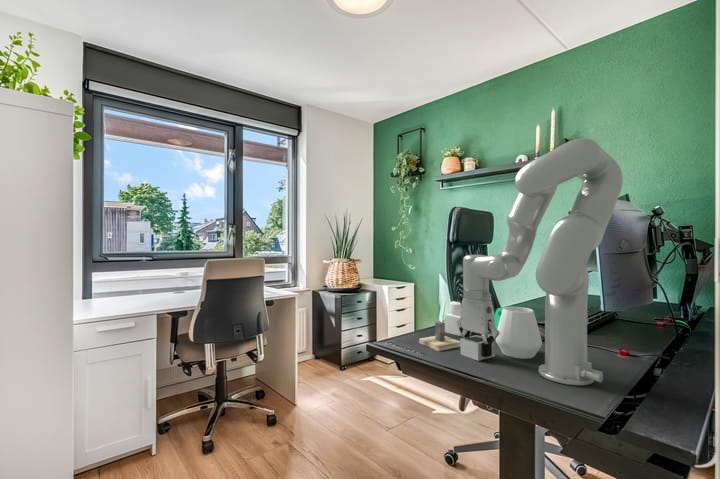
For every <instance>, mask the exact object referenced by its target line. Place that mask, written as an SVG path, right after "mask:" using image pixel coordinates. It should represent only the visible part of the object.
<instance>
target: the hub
mask: <svg viewBox="0 0 720 479" xmlns="http://www.w3.org/2000/svg"><path fill="white" fill-rule="evenodd" d="M459 341H460V347H459V348H460V355H462V356H464V357H466V358H469V359H472V360H474V361H477V362H478V361H479V362H480V361H483V360H487V359H491V358H494V357H495V356H496V355H495V341H494V342H493V343H492V355H491V356H489V357H483V343H484V341H483V338H482V336H481V335H478V334H476V335H470V336H469V337H464V338H463V337H460V340H459Z"/></svg>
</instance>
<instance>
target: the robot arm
mask: <svg viewBox="0 0 720 479" xmlns="http://www.w3.org/2000/svg"><path fill="white" fill-rule="evenodd" d="M576 177H577V178H578V179H579V180H580V181H581V187H580V190H579V191H578V193H577V195H576V197H575V200H574V202H573V205H572V208H571V210H570V212H569V214H568V215H565V216H564V217H561V218H560V219H559V220H558V221H557V222H556V223H555V224H554V226H553V227H552V229H551V230H550V233H549V235H548V238H547V240H546V243H545V245H544V248H543V249H542V253H541V254H540V258H539V260H538V263H537V267H536V270H535V280H536V283H537V285H538V286H539V288H540V290H542V291H543V292H544V293H545V302H544V303H545V304H544V364H541V365H539V366H538V373H539V375H540V376H541V377H543V378H545V379H547V380H550V381H552V382H556V383H560V384H564V385H569V386H589V385H592V384H593V383H595V382H596V383H597V382H598V383H602V382H603V380H604V375H603V374H604V373H603V371H601V370H596V369H593V368H592V366H593V365H592V362H590V361H588V299H589V298H588V297H589V288H590V286H589V284H590V275H589V270H588V267H587V263H588V262H589V260H590V257H591V254H592V253H593V251H594V250H596V249H597V248H599V246H600V244H601V243H602V241H603V238H604V236H605V232H606V230H607V226H608V225H609V222H610V219H611V217H612V215H613V212H614V209H615V206H616V204H617V202H618V199H619V196H620V195H621V192H622V188H623V180H624V179H623V171H622V169H621V167H620V165H619V163H618V162H617V161H616V159H614V158H613V157H612V156H611V155H610V154H609V153H608V152H607V151H606V150H604V149H603V148H602V146H600V145H599V143H597V141H595V140H593V139H591V138H587V137H580V138H574V139H571V140H569V141H566V142H565V143H563V144H561V145H559V146H557V147H556V148H554V149H552V150H550V151H548V152H547V153H544V154H543V155H540V156H539V157H537V158H535V159H533V160H532V161H530V162H528V163H526V164H525V165H523V167H521V168H520V169H519V170H518V172H517V173H516V175H515V177H514V178H515V179H514V185H515V188H516V190H517V191H518V192H517V195H516V197H515V199H514V202H513V203H512V206H511V207H510V210H509V212H508V213H507V217H506V222H507V227H508V236H507V237H508V238H507V240H506V243H505V245H504V248H503V250H502V252H501V253H499V254H494V255H493V254H492V255H485V254H466V255H465V256H463V259H462V280H463V282H462V283H463V285H462V286H463V287H462V288H463V290H462V291H463V298H462V300H461V301H462V306H461V318H460V319H459V320H458V321H457V325H458V327H459V330H460V332H461V333H462V334H461V335H462V336H461V338H464V337H469V336H472V335H471V334H472V333H476V334H477V335H478V334H479V335H480V336H481V337H482V338H483V341H484V343H483V357H489V356H491V355H492V343H493V342H494V343H495V341H496V340H495V339H496V338H497V337H498V335H499V334H500V332H499V331H498V330H497V328H496V327H495V317H494V315H495V310H494V305H493V301H492V300H491V299H490V298H492V294H491V292H490V281H493V282H494V281H495V282H500V281H501V282H502V281H506V280H508V279H513V278H515V277H516V276H518V275H519V274H520V273H521V272H522V270H523V268H524V266H525V264H526V262H527V260H528V258H529V256H530V254H531V252H532V249H533V246H534V242H535V240H536V236H537V232H538V229H539V225H540V224H541V222H542V220H543V217H544V215H545V214H546V211H547V209H548V207H549V206H550V204H551V202H552V200H553V197H554V196H555V194H556V192H557V189H558V186H559V185H560V184H562V183H565V182H567V181H569V180H571V179H573V178H576Z"/></svg>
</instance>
